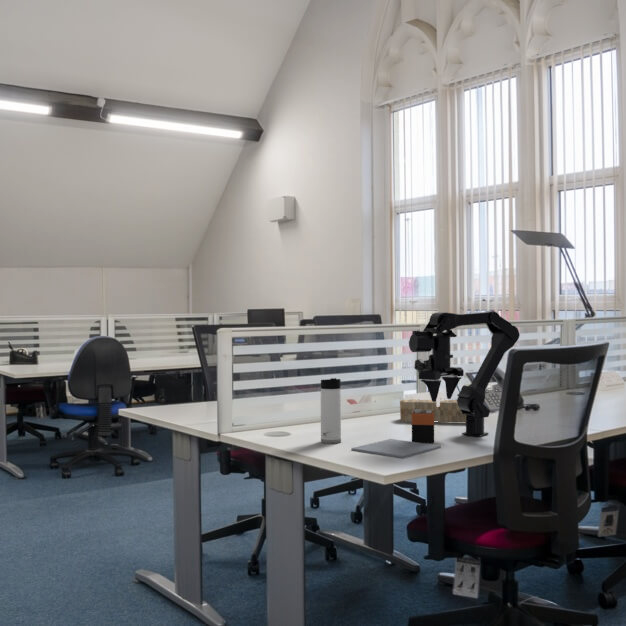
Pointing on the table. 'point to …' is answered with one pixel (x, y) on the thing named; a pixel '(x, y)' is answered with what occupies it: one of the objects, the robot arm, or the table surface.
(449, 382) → the robot arm
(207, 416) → the table surface
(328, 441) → the travel mug
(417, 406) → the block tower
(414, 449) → the mat
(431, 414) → the battery
